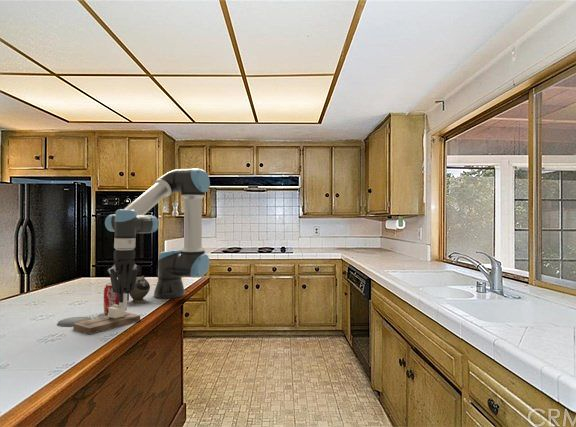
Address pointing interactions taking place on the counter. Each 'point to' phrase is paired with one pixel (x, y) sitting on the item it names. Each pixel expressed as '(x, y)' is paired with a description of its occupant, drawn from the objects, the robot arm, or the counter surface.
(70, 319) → the rubber mat
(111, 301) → the soda can
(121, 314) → the switch tab
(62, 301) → the counter surface
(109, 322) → the switch plate
